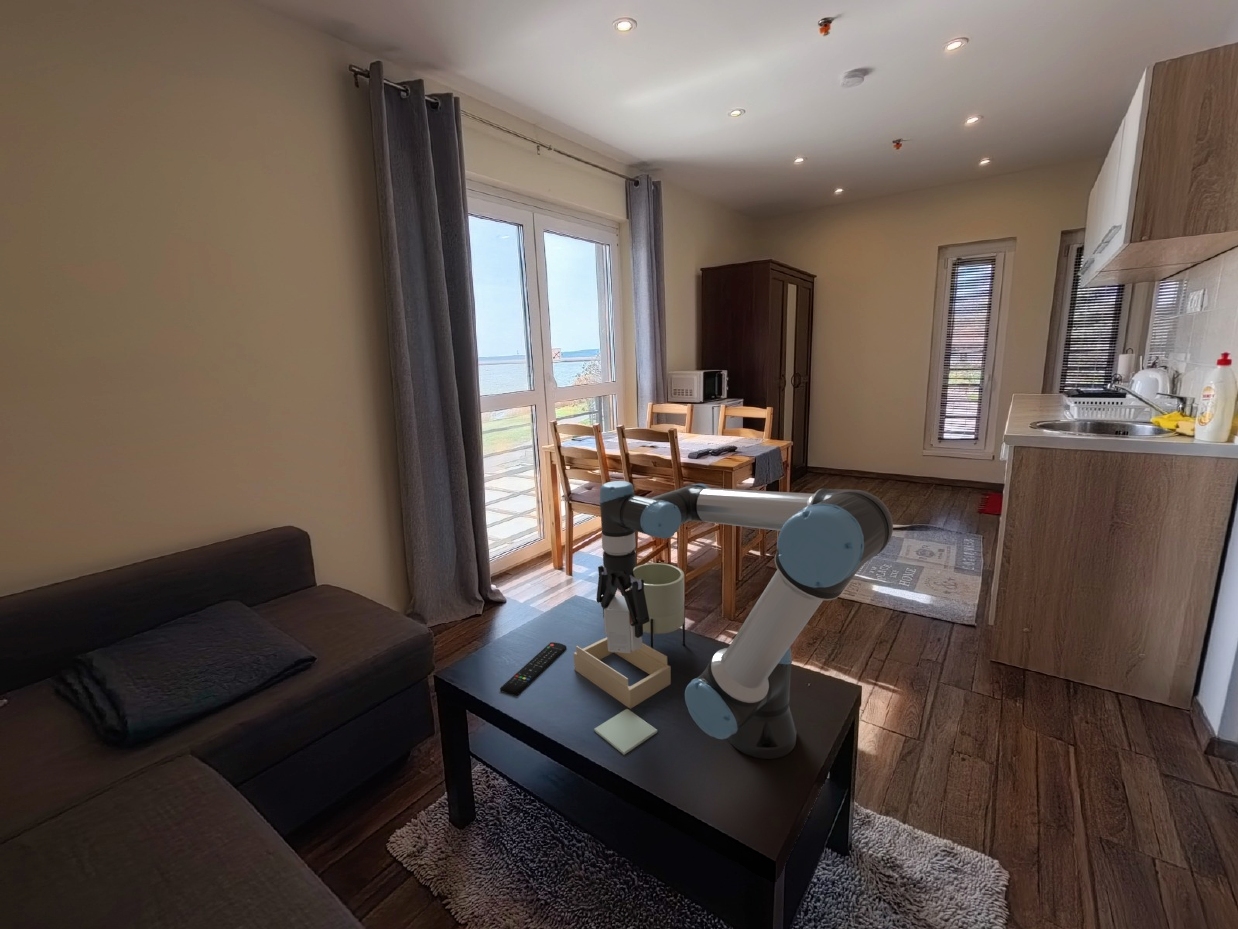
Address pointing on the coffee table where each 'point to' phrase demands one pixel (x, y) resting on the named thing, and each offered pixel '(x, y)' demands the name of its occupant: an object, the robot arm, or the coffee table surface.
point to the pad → (625, 731)
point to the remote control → (533, 669)
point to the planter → (663, 598)
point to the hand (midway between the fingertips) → (623, 640)
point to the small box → (618, 625)
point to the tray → (617, 683)
